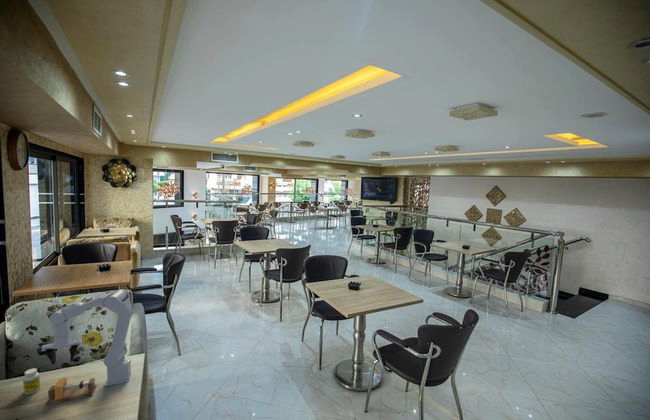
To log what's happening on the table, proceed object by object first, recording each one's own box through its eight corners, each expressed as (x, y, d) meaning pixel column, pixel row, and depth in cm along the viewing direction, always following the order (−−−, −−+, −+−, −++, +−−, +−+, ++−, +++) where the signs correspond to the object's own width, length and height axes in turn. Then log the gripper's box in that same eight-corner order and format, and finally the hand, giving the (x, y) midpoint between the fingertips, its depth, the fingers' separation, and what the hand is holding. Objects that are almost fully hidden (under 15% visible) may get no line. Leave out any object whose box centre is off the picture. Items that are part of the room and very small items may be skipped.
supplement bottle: (41, 385, 141) (40, 365, 140) (38, 392, 137) (37, 372, 135) (25, 389, 138) (24, 369, 137) (22, 396, 134) (21, 376, 132)
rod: (94, 383, 139) (94, 378, 139) (92, 386, 137) (92, 381, 137) (51, 391, 133) (50, 386, 133) (49, 394, 131) (48, 390, 131)
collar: (67, 389, 137) (66, 377, 136) (62, 398, 132) (61, 386, 131) (60, 391, 136) (59, 378, 135) (55, 400, 131) (54, 387, 130)
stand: (96, 385, 142) (96, 375, 141) (92, 396, 136) (91, 385, 135) (53, 394, 136) (52, 383, 135) (46, 405, 129) (45, 394, 129)
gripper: (83, 328, 147) (85, 354, 149) (45, 332, 142) (47, 359, 143) (78, 335, 141) (80, 362, 142) (38, 340, 135) (40, 368, 137)
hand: (63, 361), depth 142 cm, fingers open, 6 cm apart
